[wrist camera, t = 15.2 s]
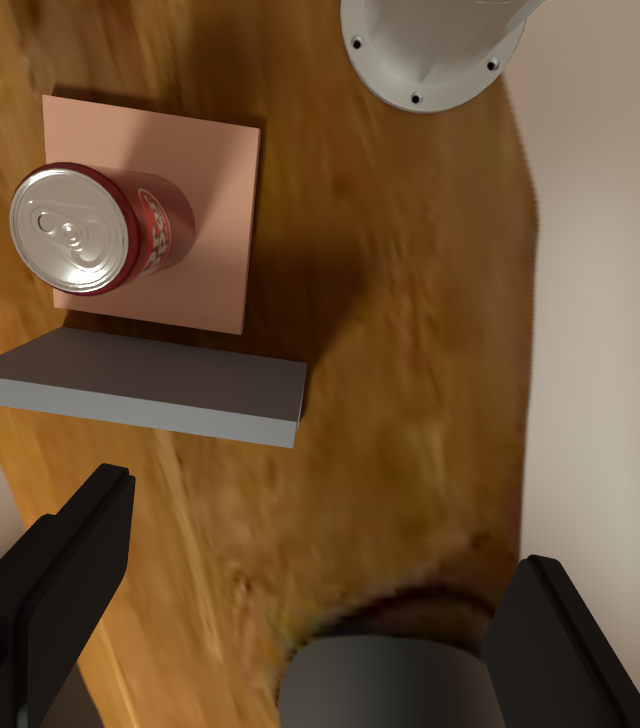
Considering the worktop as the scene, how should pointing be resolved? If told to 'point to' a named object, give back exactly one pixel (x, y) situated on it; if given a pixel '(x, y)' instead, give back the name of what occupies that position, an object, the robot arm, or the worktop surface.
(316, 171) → the worktop surface
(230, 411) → the screen
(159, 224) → the soda can
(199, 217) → the tile
